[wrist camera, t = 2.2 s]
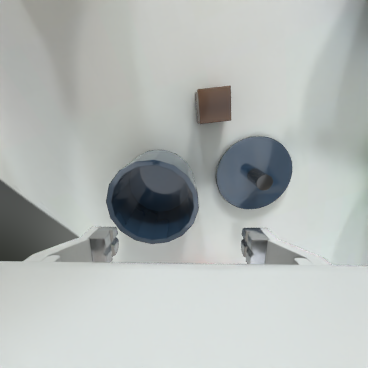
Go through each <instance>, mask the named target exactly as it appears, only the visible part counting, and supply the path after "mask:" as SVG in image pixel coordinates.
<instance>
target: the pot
mask: <svg viewBox="0 0 368 368" xmlns="http://www.w3.org/2000/svg"><path fill="white" fill-rule="evenodd" d="M106 203H107V207H108V211H109V214H110V218H111V219H112V220H113V222H114V223H115V224H116V226H117V227H118V228H119V230H120V231H121V232H123V233H125V234H126V235H128V236H129V237H131V238H133V239H134V240H137V241H141V242H145V243H150V244H155V243H165V242H170V241H172V240H174V239H176V238H178V237H180V236H182V235H183V234H184V233H185V232H186V231H187V230H188V229H189V228H190V227H191V226H192V225H193V223H194V221H195V218H196V215H197V212H198V209H199V206H198V194H197V189H196V185H195V180H194V176H193V173H192V171H191V169H190V167H189V166H188V164H187V162H186V161H184V160H183V159H182V158H181V157H180V156H178V155H177V154H175V153H172V152H170V151H166V150H152V151H147V152H145V153H144V154H142V155H140V156H138V157H137V158H135V159H134V160H133V161H131V162H130V163H129V164H127V165H126V166H125V167H123V168H122V169H121V170H120V171H119V172H118V173H117V174H116V176H115V177H114V179H113V180H112V181H111V183H110V184H109V188H108V193H107V199H106Z"/></svg>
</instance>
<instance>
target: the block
mask: <svg viewBox="0 0 368 368" xmlns="http://www.w3.org/2000/svg"><path fill="white" fill-rule="evenodd" d="M195 97H196V110H197V123H198V124H203V123H212V122H221V121H230V120H231V86H222V87H214V88H205V89H198V90H197V92H196V94H195Z"/></svg>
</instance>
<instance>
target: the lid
mask: <svg viewBox="0 0 368 368" xmlns="http://www.w3.org/2000/svg"><path fill="white" fill-rule="evenodd" d="M291 175H292V161H291V158H290V155H289V153H288V151H287V150H286V149H285V147H284V146H283V145H282V144H280V143H279V142H277V141H276V140H274V139H271V138H268V137H261V136H255V137H249V138H245V139H243V140H240V141H238V142H237V143H235V144H234V145H232V146H231V147H230V148H229V149H228V150H227V151H226V152H225V154H224V155H223V156H222V158H221V160H220V162H219V164H218V168H217V173H216V180H217V185H218V188H219V191H220V193H221V194H222V196H223V197H224V198H225V199H226V200H227V201H228V202H229V203H230V204H232V205H234V206H236V207H239V208H243V209H257V208H261V207H264V206H266V205H269V204H270V203H272V202H274V201H275V200H276V199H277V198H279V197H280V196H281V195H282V194H283V192H284V191H285V190H286V188H287V186H288V184H289V182H290V179H291Z"/></svg>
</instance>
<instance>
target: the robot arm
mask: <svg viewBox="0 0 368 368" xmlns="http://www.w3.org/2000/svg"><path fill="white" fill-rule="evenodd" d="M117 234H118V231H117V228H116V227H91V228H90V229H89V230H88V231H87V232H85V233H84V234H83V235H82V236H81V237H80V238H76V239H73V240H71V241H68V242H65V243H63V244H60V245H57V246H54V247H52V248H49V249H46V250H44V251H41V252H38V253H36V254H33V255H31V256H30V257H28V258H27V259H26V260H24V261H23V262H19V261H17V262H16V261H14V262H13V261H0V368H368V265H332V264H331V263H330V262H328V261H327V260H326V259H325V258H323V257H321V256H318V255H316V254H314V253H311V252H309V251H306V250H304V249H302V248H299V247H297V246H294V245H292V244H290V243H287V242H285V241H282V240H278V238H277V237H276V236H275V235H274V234H273V233H272V232H271V231H270V230H269V229H268V228H243V230H242V236H243V238H244V239H243V240H242V241H241V251H242V254H243V256H244V257H246V262H247V264H193V263H110V262H111V261H112V257H113V256H114V255H116V253H117V251H118V247H119V241H118V239H117V238H116V236H117Z"/></svg>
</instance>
